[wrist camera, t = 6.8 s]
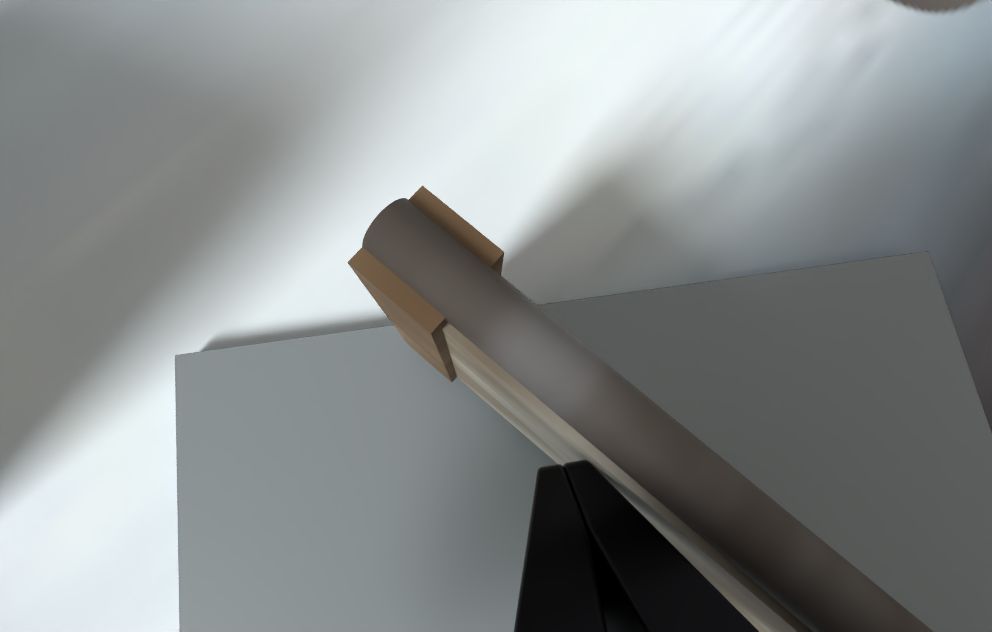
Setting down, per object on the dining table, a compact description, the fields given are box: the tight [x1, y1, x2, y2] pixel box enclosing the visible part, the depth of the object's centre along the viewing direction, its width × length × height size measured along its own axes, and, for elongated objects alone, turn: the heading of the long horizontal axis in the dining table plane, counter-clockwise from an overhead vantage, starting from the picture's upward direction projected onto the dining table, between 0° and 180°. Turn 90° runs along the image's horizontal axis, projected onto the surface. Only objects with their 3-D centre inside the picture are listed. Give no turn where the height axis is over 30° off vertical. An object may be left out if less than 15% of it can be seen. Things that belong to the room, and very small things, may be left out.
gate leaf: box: [348, 186, 934, 632], centre depth 10 cm, size 17×2×7 cm, turn 50°
